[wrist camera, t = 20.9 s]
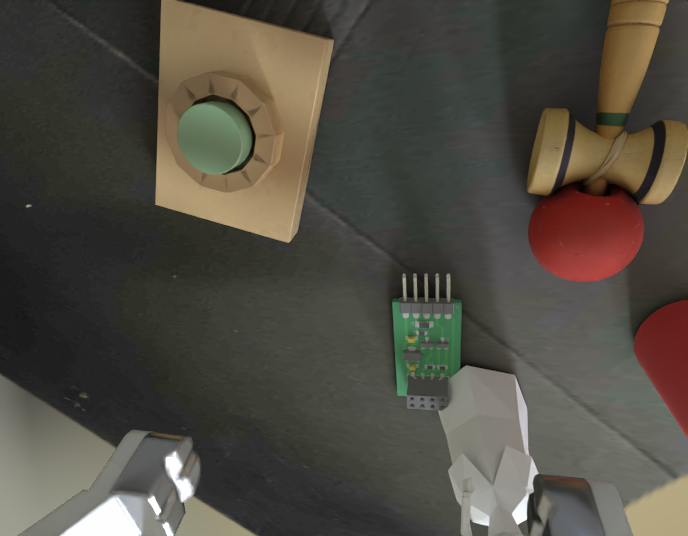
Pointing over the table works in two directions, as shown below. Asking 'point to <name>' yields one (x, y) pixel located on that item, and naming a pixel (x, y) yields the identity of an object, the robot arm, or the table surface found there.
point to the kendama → (604, 160)
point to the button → (214, 136)
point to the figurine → (488, 449)
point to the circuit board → (426, 345)
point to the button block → (253, 101)
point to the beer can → (667, 356)
